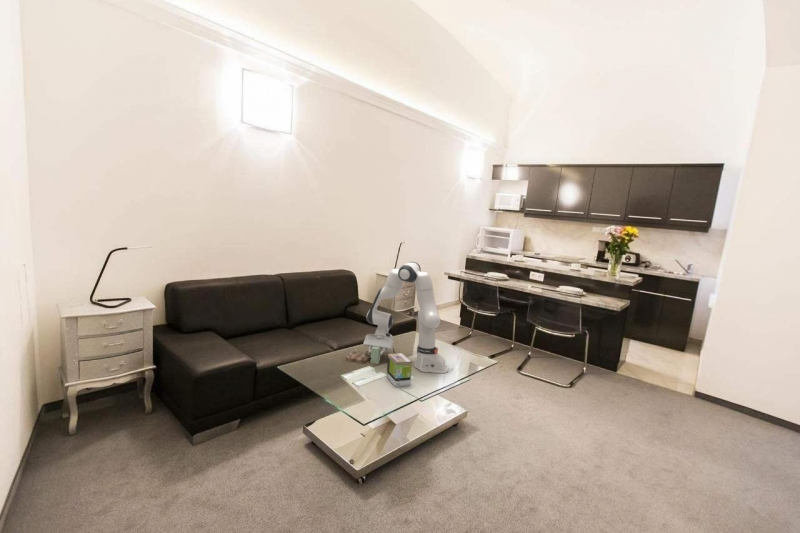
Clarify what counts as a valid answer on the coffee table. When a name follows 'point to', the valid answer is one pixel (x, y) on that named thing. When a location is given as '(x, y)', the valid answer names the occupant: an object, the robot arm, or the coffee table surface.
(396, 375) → the tea box
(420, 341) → the robot arm
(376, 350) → the sage post
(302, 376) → the coffee table surface
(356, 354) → the walnut peg plate
